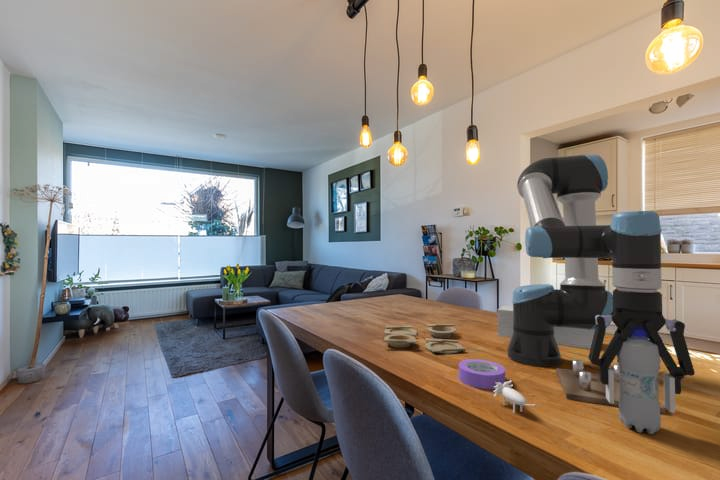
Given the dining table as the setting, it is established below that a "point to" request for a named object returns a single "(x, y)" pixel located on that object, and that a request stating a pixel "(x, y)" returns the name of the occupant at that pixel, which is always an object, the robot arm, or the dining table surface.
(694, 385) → the dining table surface
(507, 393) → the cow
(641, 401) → the bottle
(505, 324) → the grey rectangular block
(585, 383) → the pegs
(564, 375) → the peg base
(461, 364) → the masking tape
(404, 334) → the tableware set
